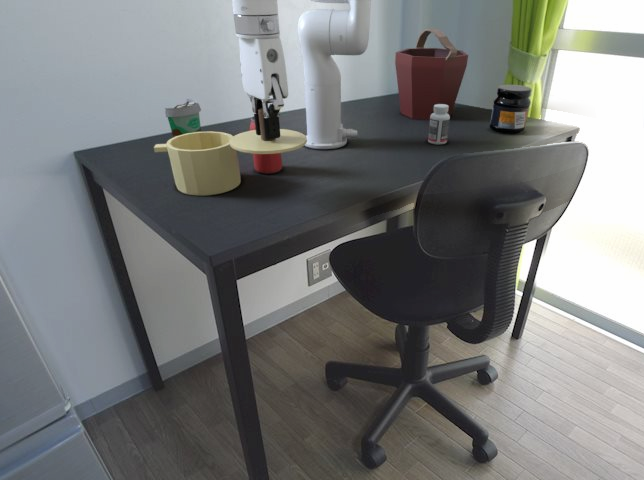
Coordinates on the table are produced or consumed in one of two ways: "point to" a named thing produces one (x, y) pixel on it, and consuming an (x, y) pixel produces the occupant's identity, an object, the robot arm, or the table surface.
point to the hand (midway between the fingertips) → (268, 135)
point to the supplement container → (510, 109)
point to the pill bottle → (439, 125)
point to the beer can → (266, 159)
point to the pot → (203, 162)
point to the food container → (184, 118)
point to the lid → (260, 145)
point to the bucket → (429, 76)
